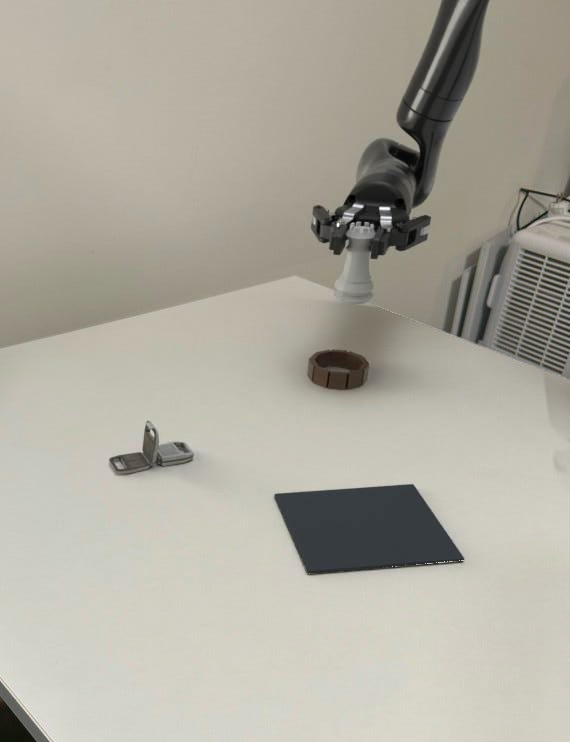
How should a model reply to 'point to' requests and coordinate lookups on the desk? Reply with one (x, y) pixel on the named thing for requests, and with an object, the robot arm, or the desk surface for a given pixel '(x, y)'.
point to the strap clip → (153, 453)
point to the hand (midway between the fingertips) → (356, 247)
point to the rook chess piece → (356, 267)
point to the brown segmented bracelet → (335, 377)
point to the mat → (364, 528)
